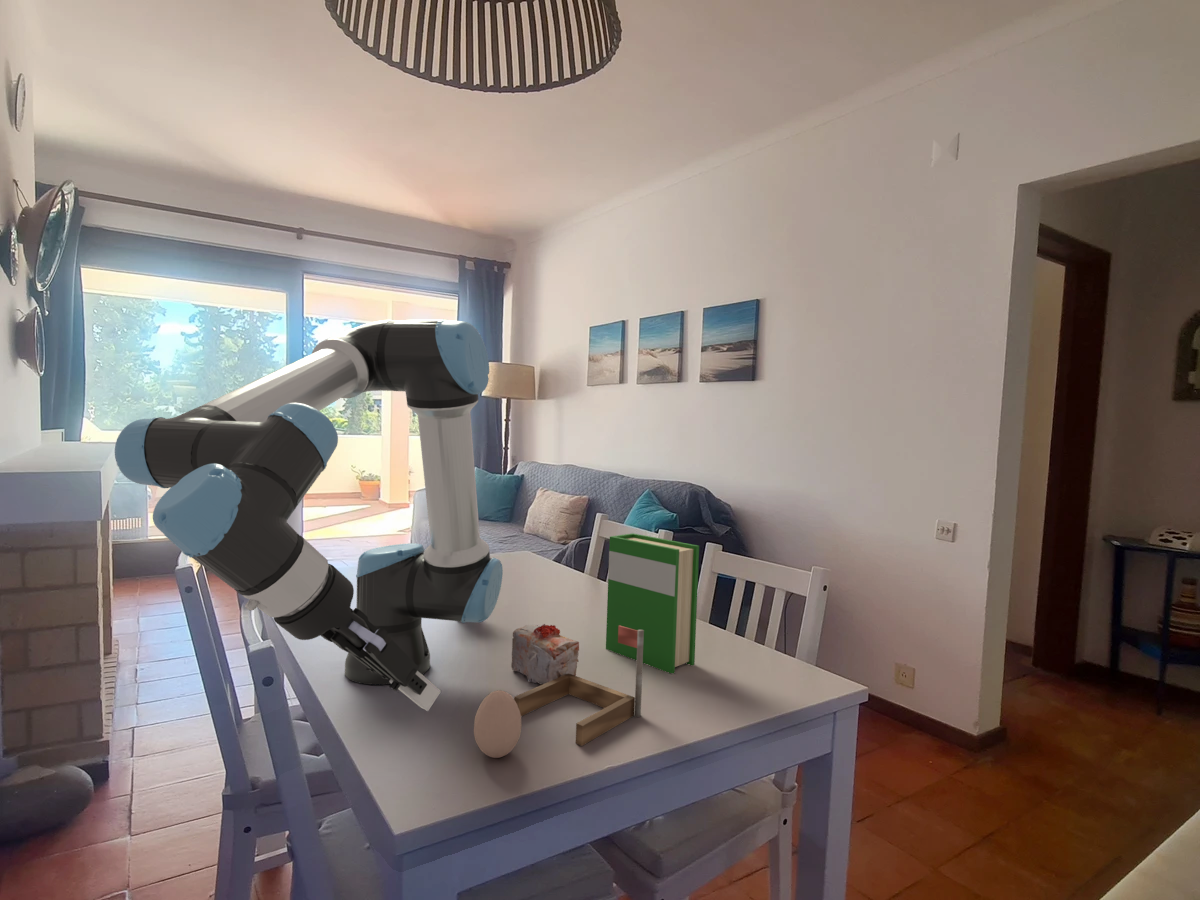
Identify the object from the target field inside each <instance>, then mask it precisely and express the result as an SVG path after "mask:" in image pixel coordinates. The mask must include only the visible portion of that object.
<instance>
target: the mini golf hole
mask: <svg viewBox="0 0 1200 900" xmlns="http://www.w3.org/2000/svg"><path fill="white" fill-rule="evenodd" d="M643 640H644V630H634V629H630V628H627V627H623V626H618V643H621V644H625V645H628V646H631V647H635V648H637V661H636V665H635V666H636V668H635V671H636V672H635V690H634V691H635V695H634V696H632V695H629V694H626V693H623V692H621V691H619V690H615V689H613V688H611V687H610V688H609V687H607V686H604V685H602V684H599V683H596V682H593V681H591V680H588V679H586V678H582V677H580V676H578V675H576V676H575V675H572V674H569V673H568V674H566V675H564V676H561V677H559V678H557V679H554V680H552V681H550V682H547V683H545V684H543V685H542V684H539V686H536V687H533V688H532V689H528V690H526V691H524V692H522V693H520V694H517V695H515V696H514V697H513V699H514V700H515V702H516V703H517V706H518V708H519V711H520V714H521V717H523V716H525V715H527V714H529V712H530V713H532V712H534V711H535V710H538V709H540V708H542V707H544V706H546V705H548V704H550V703H552V702H555V701H557V700H559V699H562V698H563V697H566V696H568V695H570V696H573V697H575V698H577V699H580V700H583V701H585V702H587V703H590V704H593V705H595V706H599V707H601V708H602V709H600V710H598V711H597V712H595V713H593V714H591V715H589V716H587V717H586V718H584V719H582V720H580V721H578V722H577V723H576V726H575V744H576V745H578V746H581V747H583V746H585V745H586V744H588V743H589V742H591V741H593V740H595V739H596V738H598V737H601V735H604V734H605V733H607V732H608V731H610V730H612V729H613V728H615V727H617V726H619V725H620V724H622V723H623V722H626V721H627V720H629V719H631V718H633V717H636V718H639V717H641V714H642V689H643V664H644V663H643ZM533 710H534V711H533ZM531 711H532V712H531Z"/></svg>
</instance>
